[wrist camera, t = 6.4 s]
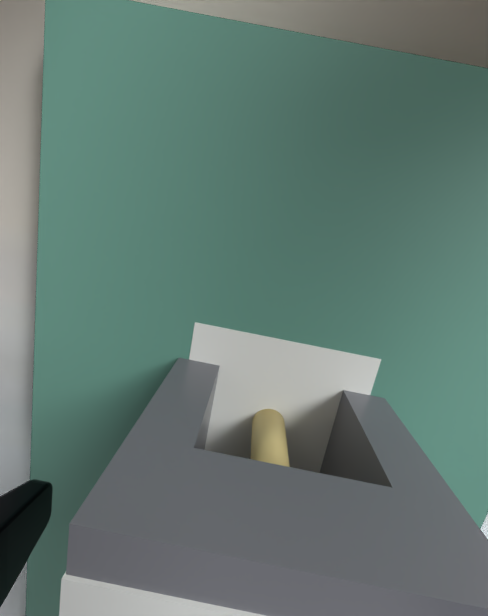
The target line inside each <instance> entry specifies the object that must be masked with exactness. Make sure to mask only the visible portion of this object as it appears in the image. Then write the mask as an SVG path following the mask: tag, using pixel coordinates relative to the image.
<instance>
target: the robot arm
mask: <svg viewBox="0 0 488 616" xmlns="http://www.w3.org/2000/svg"><path fill="white" fill-rule="evenodd" d="M52 493H53V486H52V484H51V483H50V482H47V481H42V480H37V479H33V480H30V481H28V482H26V483H24V484H22V485H20V486H18V487H17V488H15V489H13V490H11V491H9V492H7V493H6V494H4V495H2V496H0V607H1V605H2V604H3V602H4V600H5V598H6V597H7V595H8V593H9V591H10V590H11V588H12V586H13V584H14V583H15V581H16V579H17V577H18V576H19V574H20V572H21V570H22V569H23V567H24V565H25V563H26V561H27V560H28V558H29V556H30V554H31V553H32V551H33V549H34V547H35V546H36V544H37V542H38V540H39V539H40V537H41V535H42V533H43V532H44V530H45V528H46V526H47V524H48V522H49V520H50V516H51V511H52Z"/></svg>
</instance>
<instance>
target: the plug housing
mask: <svg viewBox="0 0 488 616" xmlns="http://www.w3.org/2000/svg"><path fill="white" fill-rule="evenodd" d="M219 367H220V366H219V365H214V364H209V363H204V362H199V361H194V360H189V359H184V358H178V360H177V361H176V363H175V364H174V366H173V367H172V369H171V370H170V372H169V373H168V375H167V376H166V378H165V379H164V381H163V382H162V384H161V385H160V387H159V388H158V390H157V391H156V393H155V394H154V396H153V398H152V399H151V401H150V402H149V404H148V405H147V407H146V408H145V410H144V411H143V413H142V414H141V416H140V417H139V419H138V420H137V422H136V423H135V425H134V426H133V428H132V429H131V431H130V432H129V434H128V435H127V437H126V438H125V440H124V442H123V443H122V445H121V446H120V448H119V449H118V451H117V452H116V454H115V455H114V457H113V458H112V460H111V461H110V463H109V464H108V466H107V467H106V469H105V470H104V472H103V473H102V475H101V476H100V478H99V479H98V481H97V482H96V484H95V486H94V487H93V489H92V490H91V492H90V493H89V495H88V496H87V498H86V499H85V501H84V502H83V504H82V505H81V507H80V508H79V510H78V511H77V513H76V514H75V516H74V517H73V519H72V520H71V522H70V523H69V537H68V552H67V567H66V572H65V574H64V575H63V577H62V579H61V593H60V609H59V616H488V539H487V538H486V537H485V535H484V534H483V533H482V531H481V530H480V528H479V527H478V526H477V524H476V523H475V522H474V520H473V519H472V517H471V516H470V515H469V513H468V512H467V511H466V509H465V508H464V506H463V505H462V504H461V502H460V501H459V500H458V498H457V497H456V495H455V494H454V493H453V491H452V490H451V489H450V487H449V486H448V484H447V483H446V482H445V480H444V479H443V478H442V476H441V475H440V473H439V472H438V471H437V469H436V468H435V467H434V465H433V464H432V462H431V461H430V460H429V458H428V457H427V456H426V454H425V453H424V451H423V450H422V449H421V447H420V446H419V445H418V443H417V442H416V440H415V439H414V438H413V436H412V435H411V434H410V432H409V431H408V429H407V428H406V427H405V425H404V424H403V423H402V421H401V420H400V418H399V417H398V416H397V414H396V413H395V412H394V410H393V409H392V407H391V406H390V405H389V403H388V402H387V401H386V399H385V398H381V397H376V396H371V395H366V394H361V393H356V392H351V391H346V390H343V393H342V396H341V400H340V403H339V407H338V410H337V414H336V417H335V421H334V424H333V427H332V431H331V434H330V438H329V441H328V445H327V448H326V452H325V455H324V459H323V462H322V466H321V469H320V472H319V473H317V472H312V471H307V470H302V469H297V468H292V467H287V466H282V465H277V464H272V463H267V462H262V461H257V460H252V459H247V458H242V457H237V456H232V455H227V454H222V453H217V452H212V451H207V450H205V444H206V439H207V433H208V428H209V422H210V417H211V411H212V406H213V400H214V395H215V389H216V384H217V378H218V373H219Z"/></svg>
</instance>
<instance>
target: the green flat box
mask: <svg viewBox="0 0 488 616" xmlns="http://www.w3.org/2000/svg"><path fill="white" fill-rule="evenodd" d="M178 358H184V359H189V360H194V361H199V362H204V363H209V364H214V365H219V366H220V367H219V373H218V378H217V384H216V389H215V395H214V400H213V406H212V411H211V417H210V422H209V428H208V433H207V439H206V444H205V450H207V451H212V452H217V453H222V454H227V455H232V456H237V457H242V458H247V459H252V460H257V461H262V462H267V463H272V464H277V465H282V466H287V467H292V468H297V469H302V470H307V471H312V472H317V473H319V472H320V469H321V466H322V462H323V459H324V455H325V452H326V448H327V445H328V441H329V438H330V434H331V431H332V427H333V424H334V421H335V417H336V414H337V410H338V407H339V403H340V400H341V396H342V393H343V390H346V391H351V392H356V393H361V394H366V395H371V396H376V397H381V398H385V399H386V401H387V402H388V403H389V405H390V406H391V407H392V409H393V410H394V412H395V413H396V414H397V416H398V417H399V418H400V420H401V421H402V423H403V424H404V425H405V427H406V428H407V429H408V431H409V432H410V434H411V435H412V436H413V438H414V439H415V440H416V442H417V443H418V445H419V446H420V447H421V449H422V450H423V451H424V453H425V454H426V456H427V457H428V458H429V460H430V461H431V462H432V464H433V465H434V467H435V468H436V469H437V471H438V472H439V473H440V475H441V476H442V478H443V479H444V480H445V482H446V483H447V484H448V486H449V487H450V489H451V490H452V491H453V493H454V494H455V495H456V497H457V498H458V500H459V501H460V502H461V504H462V505H463V506H464V508H465V509H466V511H467V512H468V513H469V515H470V516H471V517H472V519H473V520H474V522H475V523H476V524H477V526H478V527H479V528H481V526H482V524H483V522H484V520H485V518H486V515H487V513H488V68H484V67H479V66H473V65H468V64H463V63H458V62H452V61H447V60H442V59H436V58H431V57H426V56H421V55H415V54H410V53H405V52H399V51H394V50H389V49H384V48H378V47H373V46H368V45H362V44H357V43H352V42H346V41H341V40H336V39H331V38H325V37H320V36H315V35H309V34H304V33H299V32H294V31H288V30H283V29H278V28H272V27H267V26H262V25H257V24H251V23H246V22H241V21H235V20H230V19H225V18H220V17H214V16H209V15H204V14H198V13H193V12H188V11H183V10H177V9H172V8H167V7H161V6H156V5H151V4H146V3H140V2H135V1H130V0H45V30H44V61H43V92H42V123H41V154H40V185H39V216H38V247H37V278H36V309H35V340H34V371H33V402H32V433H31V464H30V480H33V479H37V480H42V481H47V482H50V483H51V484H52V486H53V493H52V511H51V516H50V520H49V522H48V524H47V526H46V528H45V530H44V532H43V533H42V535H41V537H40V539H39V540H38V542H37V544H36V546H35V547H34V549H33V551H32V553H31V554H30V556H29V558H28V560H27V588H26V616H59V609H60V593H61V579H62V577H63V575H64V574H65V572H66V567H67V552H68V537H69V523H70V522H71V520H72V519H73V517H74V516H75V514H76V513H77V511H78V510H79V508H80V507H81V505H82V504H83V502H84V501H85V499H86V498H87V496H88V495H89V493H90V492H91V490H92V489H93V487H94V486H95V484H96V482H97V481H98V479H99V478H100V476H101V475H102V473H103V472H104V470H105V469H106V467H107V466H108V464H109V463H110V461H111V460H112V458H113V457H114V455H115V454H116V452H117V451H118V449H119V448H120V446H121V445H122V443H123V442H124V440H125V438H126V437H127V435H128V434H129V432H130V431H131V429H132V428H133V426H134V425H135V423H136V422H137V420H138V419H139V417H140V416H141V414H142V413H143V411H144V410H145V408H146V407H147V405H148V404H149V402H150V401H151V399H152V398H153V396H154V394H155V393H156V391H157V390H158V388H159V387H160V385H161V384H162V382H163V381H164V379H165V378H166V376H167V375H168V373H169V372H170V370H171V369H172V367H173V366H174V364H175V363H176V361H177V360H178Z"/></svg>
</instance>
